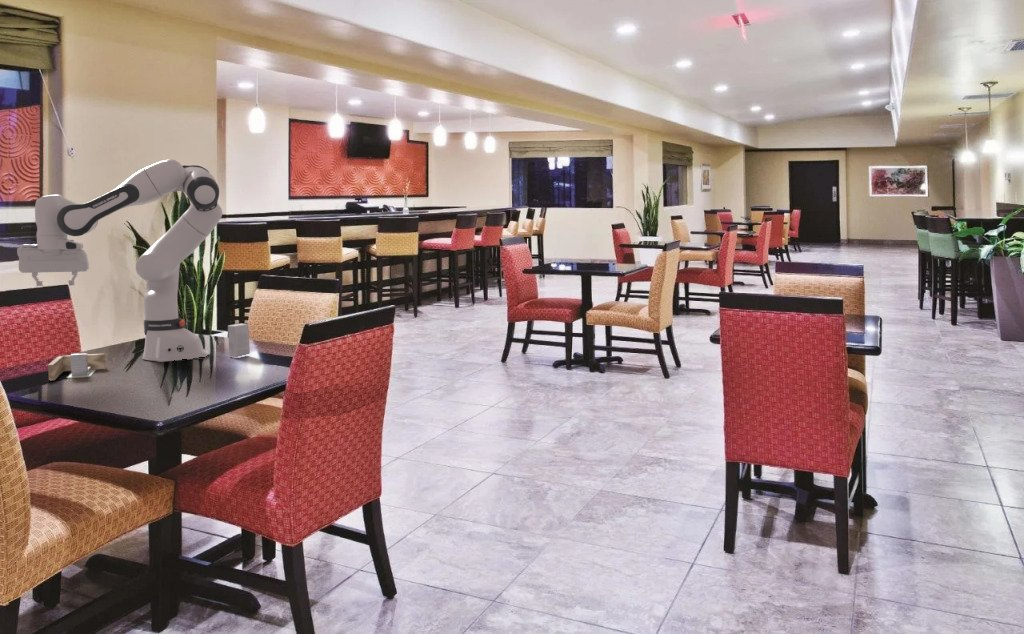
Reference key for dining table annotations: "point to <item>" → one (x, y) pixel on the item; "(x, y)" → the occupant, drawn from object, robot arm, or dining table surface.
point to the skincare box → (238, 340)
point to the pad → (81, 376)
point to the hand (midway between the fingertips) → (55, 285)
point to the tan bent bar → (65, 364)
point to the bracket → (79, 365)
